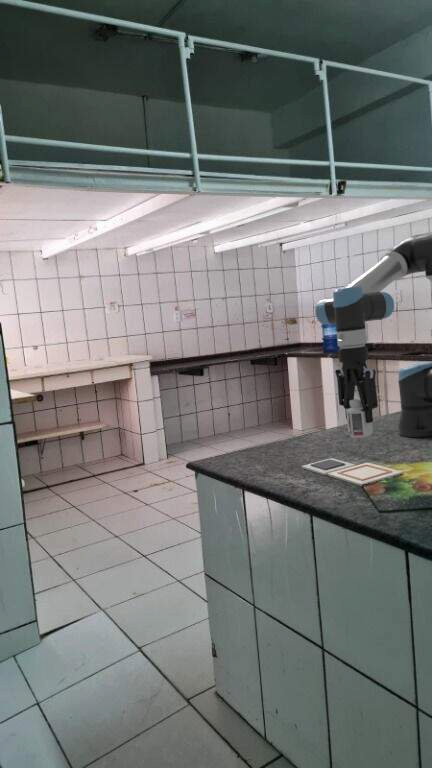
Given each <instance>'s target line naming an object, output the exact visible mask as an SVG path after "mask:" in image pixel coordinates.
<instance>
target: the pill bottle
mask: <svg viewBox="0 0 432 768" xmlns="http://www.w3.org/2000/svg"><path fill="white" fill-rule="evenodd" d="M350 406H351V408H350V409H348V420H349V430H350V433H349V435H350V437H351V438H355V439H360V438H361V439H362V438H367V437H369V436H371V434H370V435H366V436H364V435H363V428H362V417H361V409H363V407H362V404H361V400H360V398H354V399H353V400H350Z"/></svg>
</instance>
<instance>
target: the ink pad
mask: <svg viewBox="0 0 432 768" xmlns="http://www.w3.org/2000/svg"><path fill="white" fill-rule="evenodd" d="M353 466H356V464H355V463H351V462H347V461H344V460H340V459H337V458H332V457H331V458H326V459H324V460H323V459H322V460H319V461H316V462H312V463H308V464H304V465H301V467H300V468H301V469H304V470H306V471H309V472H313V473H316V474H319V475H322V476H328V473H331V472H335V471H338V470H342V469H346V468H349V467H353Z"/></svg>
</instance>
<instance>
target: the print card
mask: <svg viewBox="0 0 432 768" xmlns="http://www.w3.org/2000/svg"><path fill="white" fill-rule="evenodd" d="M355 465H356V464H355ZM400 474H401V475H404V471H401V470H399V469H393V468H390V467H387V466H386V467H385V466H383V465H378V464H374V463H371V462H364V463H361V464H357V465H356V466H353V467H349V468H346V469H342V470H338V471H335V472H331V473H328V474H327V476H328V477H331V478H335V479H337V480H339V481H344V482H347V483H349V484H353V485H356V486H359V487H363V486H362V485H363V484H368V483H371V484H373V483H372V482H375V481H378V482H380V481H379V480H381V481H383V480H382V479H385V478H388V479H390V478H389V477H391V478H394V477H393V476H395V477H397V476H396V475H398V476H400ZM385 480H386V479H385ZM375 483H376V482H375ZM368 485H369V484H368Z"/></svg>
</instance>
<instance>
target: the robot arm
mask: <svg viewBox="0 0 432 768" xmlns="http://www.w3.org/2000/svg"><path fill="white" fill-rule="evenodd" d="M423 272H425V273H424V274H425V278H426V279H428V280H429V281H430V283H432V231H429V232H426V233H421V234H414V235H413V236H410V237H407V238H406V239H404V240H402V241H401V242H399V243H397V244H396V245H394V246H393V247H391V248H390V249H388V251H386V252H384V254H382V255H381V257H380V259H379V261H378V262H377V263H376V264H374V265H373V266H372V267H371V268H369V269H368V270H367V271H366V272H364V273H363V274H361V275H360V276H359V277H357V278H356V279H355V280H354V281H352V282H351V283H349V284H348V285H347V286H346V287H341V288H336V289H334V290H333V293H332V294H333V295H332V297H330V298H329V297H327V298H325V299H321V300H319V301H318V302H317V303H316V306H315V316H316V319H317V321H318V322H320V324H322V325H332V326H333V325H335V327H336V328H335V331H336V339H337V341H336V342H337V347H339V348H338V350H337V352H338V353H337V354H338V362H339V363H341V364H342V366H341V368H340V369H336V370H335V371H334V372H335V377H336V380H337V393H338V395H337V396H338V404H339V406H342V407H343V408H344V409H345V419H346V423H347V424H346V425H347V432H348V433H349V434H350V430H349V420H348V409H350V408H351V406H350V400H353V399H355V392H356V389H357V392H358V395H359V396H358V397H359V399H360V400H361V404H362V407H363V409H361V417H362V428H363V435H364V436H366V435H370V436H371V435H373V434H374V429H373V428H374V427H373V422H374V417H373V410H375V409H376V408H378V407H379V404H378V395H377V386H376V375H377V374H376V373H377V372H376V369H370V368H368V366H367V363H366V362H367V361H368V360H369V352H368V351H369V350H368V346H366V345H367V343H368V338H367V331H366V329H367V328H366V322H371V321H382V320H384V319H387V318H389V317H391V315H392V314H393V312H394V309H395V301H394V298H393V297H392V295H391V294H390V293H388V292H386V291H383V290H384V289H385V288H387V287H388V286H389V285H391V284H392V283H393V282H394V281H399V280H402V279H403V278H404V277H405V276H408V275H411V274H412V275H413V274H415V273H423ZM397 383H398V387H399V388H398V389H399V397H400V398H399V401H400V408H401V409H400V410H401V411H400V412H401V413H400V415H399V417H400V418H399V422H398V425H397V434H398V435H400V436H402V437H406V438H407V437H408V438H425V437H432V362H423V363H417V364H414V365H413V364H412V365H408V366H405V367H401V368H400V369H399V370H398V380H397Z"/></svg>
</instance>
